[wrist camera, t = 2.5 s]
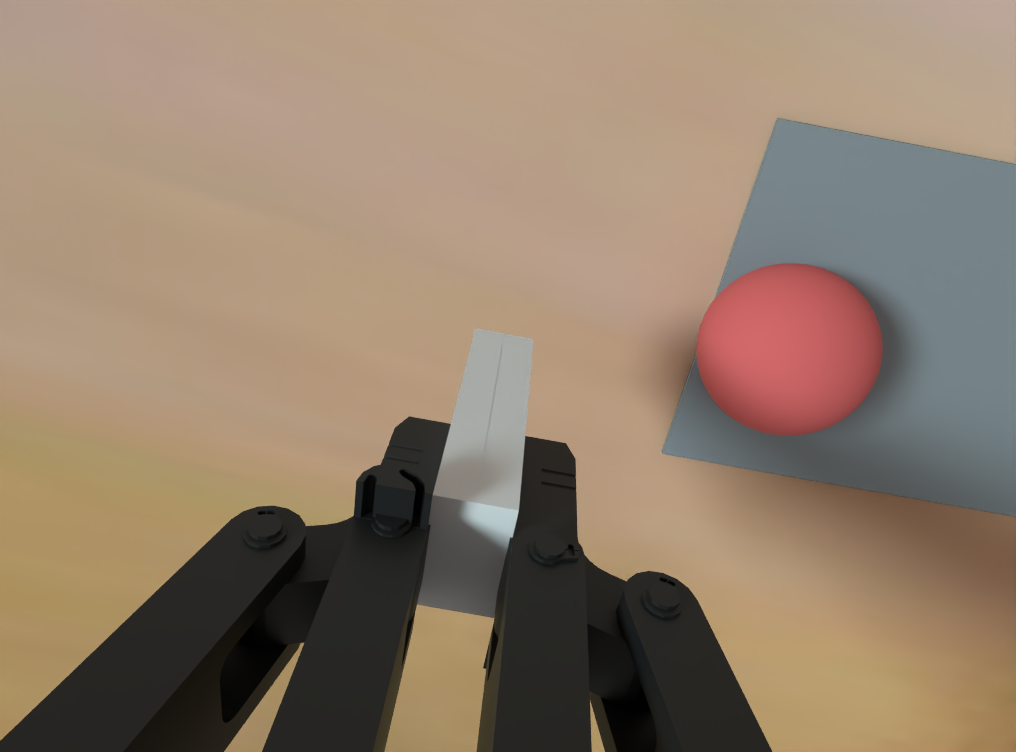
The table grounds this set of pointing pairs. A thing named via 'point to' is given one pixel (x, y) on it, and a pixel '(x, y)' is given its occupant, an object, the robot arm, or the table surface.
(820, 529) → the table surface
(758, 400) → the ball
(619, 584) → the robot arm
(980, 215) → the plate
